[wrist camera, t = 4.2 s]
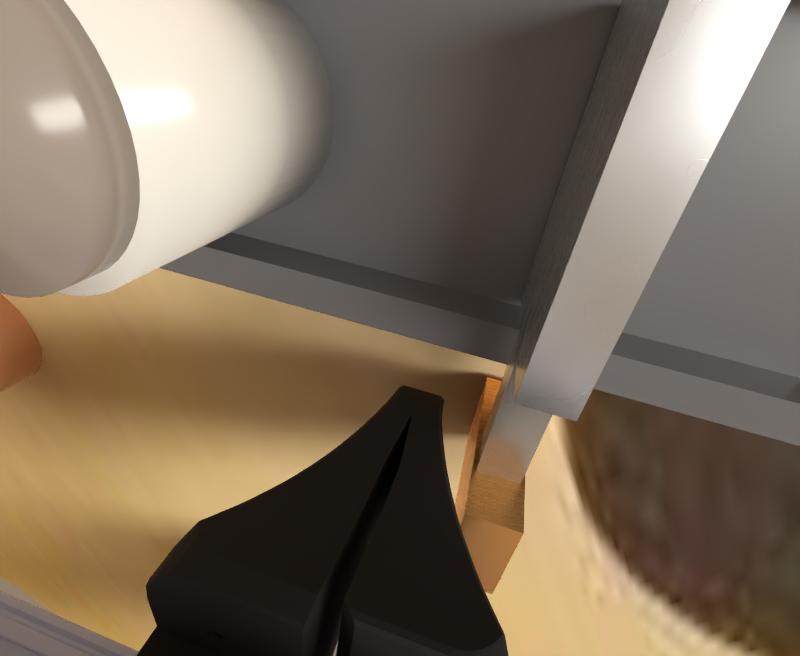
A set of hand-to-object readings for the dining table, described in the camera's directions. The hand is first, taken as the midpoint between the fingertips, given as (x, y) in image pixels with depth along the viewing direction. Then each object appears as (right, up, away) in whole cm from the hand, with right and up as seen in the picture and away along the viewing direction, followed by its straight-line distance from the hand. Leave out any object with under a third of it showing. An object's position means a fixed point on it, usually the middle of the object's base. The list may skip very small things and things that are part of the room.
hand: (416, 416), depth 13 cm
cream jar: (-4, +8, -2) cm, 9 cm away
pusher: (+3, +4, -2) cm, 5 cm away
